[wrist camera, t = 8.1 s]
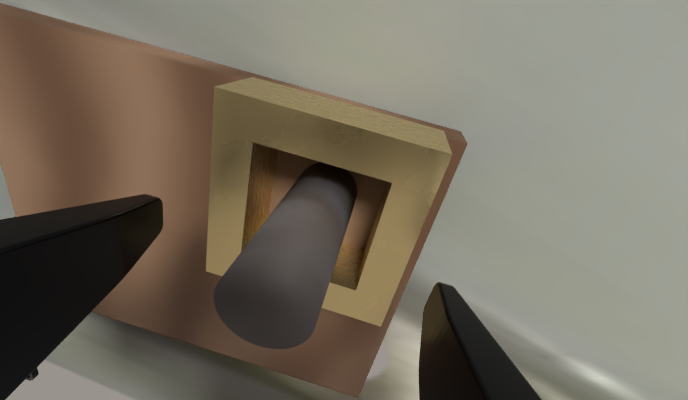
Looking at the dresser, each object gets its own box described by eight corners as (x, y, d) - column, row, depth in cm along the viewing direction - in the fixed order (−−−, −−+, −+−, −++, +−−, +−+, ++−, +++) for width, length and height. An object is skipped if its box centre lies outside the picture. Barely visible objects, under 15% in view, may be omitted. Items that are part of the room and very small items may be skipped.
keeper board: (63, 276, 19) (-119, 403, 13) (1, 3, 13) (-445, -33, 6) (361, 371, 18) (335, 561, 12) (460, 131, 12) (528, 253, 5)
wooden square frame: (237, 235, 14) (205, 271, 12) (252, 76, 11) (214, 86, 9) (385, 281, 13) (381, 326, 11) (443, 130, 10) (452, 154, 8)
